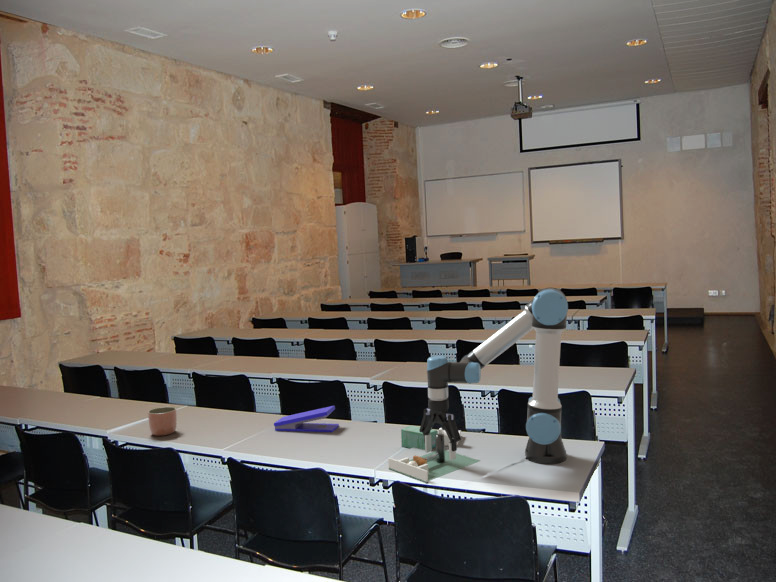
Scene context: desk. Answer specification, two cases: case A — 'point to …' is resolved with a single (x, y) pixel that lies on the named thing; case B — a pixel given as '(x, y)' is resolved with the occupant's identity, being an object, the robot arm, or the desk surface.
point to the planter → (162, 420)
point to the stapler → (298, 421)
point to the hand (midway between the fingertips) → (440, 455)
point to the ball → (413, 463)
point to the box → (416, 437)
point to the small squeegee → (438, 456)
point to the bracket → (446, 437)
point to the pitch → (430, 466)
